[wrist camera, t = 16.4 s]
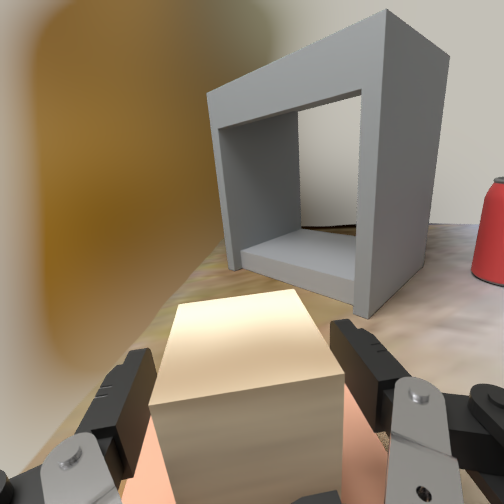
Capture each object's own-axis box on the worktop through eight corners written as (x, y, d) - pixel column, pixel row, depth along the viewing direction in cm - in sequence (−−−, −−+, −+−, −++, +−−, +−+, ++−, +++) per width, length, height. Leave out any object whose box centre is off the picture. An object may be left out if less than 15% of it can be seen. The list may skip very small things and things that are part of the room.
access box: (295, 242, 54) (290, 103, 46) (423, 265, 38) (449, 55, 30) (228, 268, 43) (206, 93, 35) (368, 319, 27) (386, 8, 19)
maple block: (211, 465, 14) (178, 304, 11) (300, 449, 15) (293, 288, 12) (207, 613, 10) (148, 405, 6) (338, 583, 10) (344, 373, 7)
